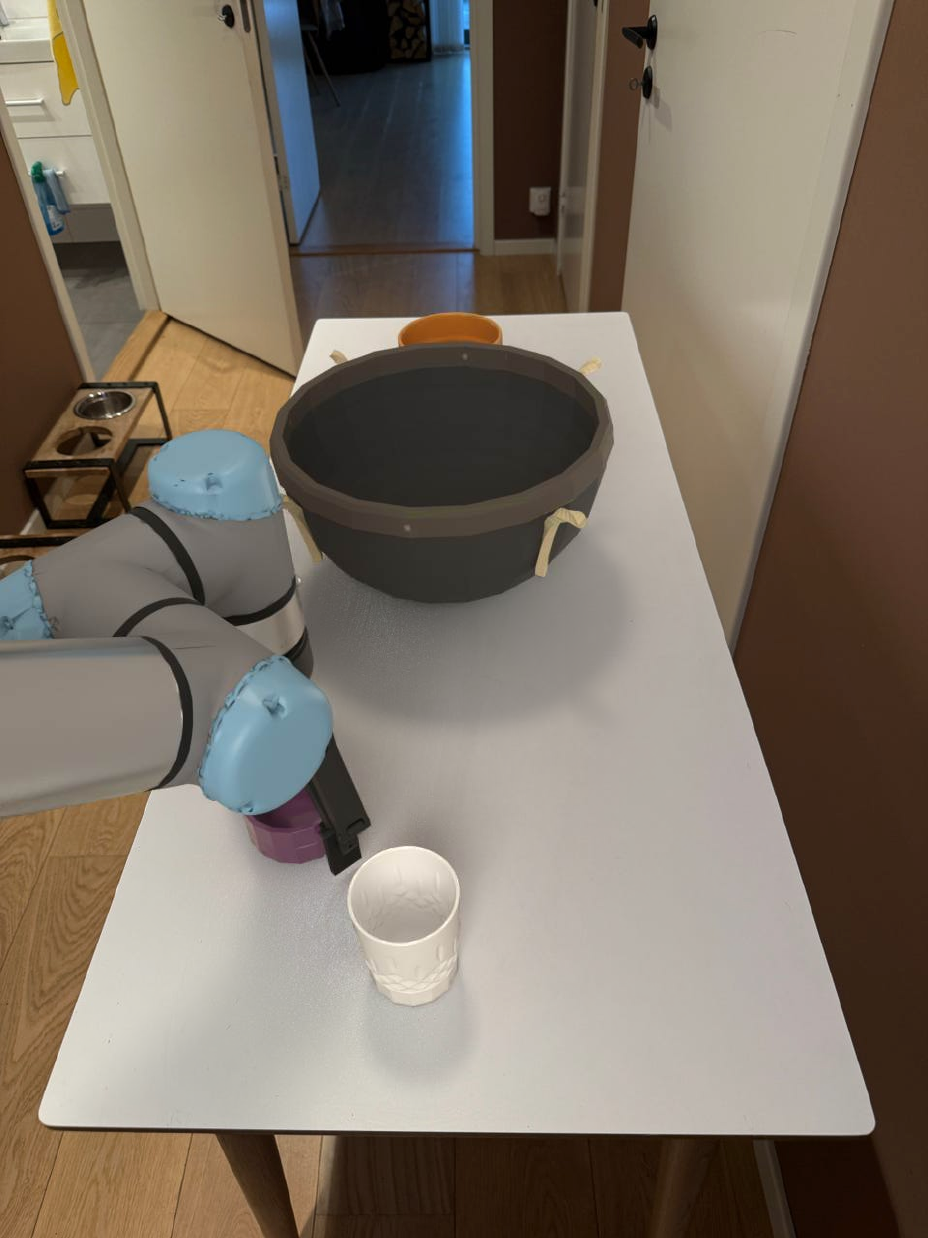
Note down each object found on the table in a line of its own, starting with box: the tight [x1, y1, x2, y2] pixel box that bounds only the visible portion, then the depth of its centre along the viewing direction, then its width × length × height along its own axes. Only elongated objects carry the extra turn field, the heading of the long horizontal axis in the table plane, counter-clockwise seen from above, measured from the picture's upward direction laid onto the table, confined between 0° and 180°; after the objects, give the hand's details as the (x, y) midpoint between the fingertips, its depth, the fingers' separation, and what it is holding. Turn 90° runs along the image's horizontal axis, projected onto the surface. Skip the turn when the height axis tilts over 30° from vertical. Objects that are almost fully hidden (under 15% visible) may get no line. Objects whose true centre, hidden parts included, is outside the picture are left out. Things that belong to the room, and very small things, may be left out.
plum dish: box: [241, 788, 326, 865], centre depth 80 cm, size 9×9×5 cm
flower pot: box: [397, 311, 504, 347], centre depth 129 cm, size 14×14×13 cm
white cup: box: [346, 845, 461, 1007], centre depth 68 cm, size 8×8×10 cm
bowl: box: [268, 341, 615, 605], centre depth 101 cm, size 35×35×20 cm
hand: (301, 814), depth 81 cm, fingers open, 13 cm apart
